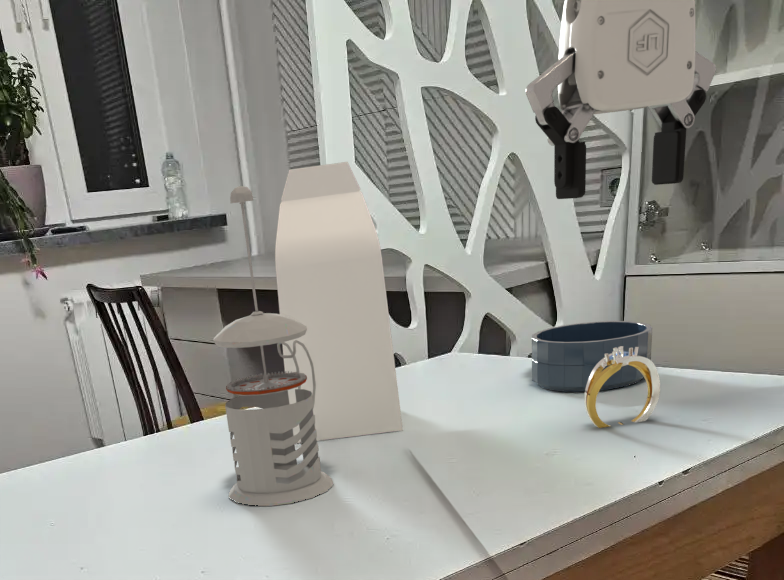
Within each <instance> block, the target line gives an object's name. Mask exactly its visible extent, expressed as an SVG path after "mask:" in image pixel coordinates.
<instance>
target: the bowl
mask: <svg viewBox="0 0 784 580" xmlns="http://www.w3.org/2000/svg"><path fill="white" fill-rule="evenodd" d="M652 342H653V326H652V325H651V324H648V323H645V322H640V321H632V320H631V321H627V320H604V321H601V320H600V321H589V322H579V323H571V324H564V325H559V326H554V327H549V328H545V329H543V330H538V331H536V332H535V333H533V334H532V335H531V381H532V382H534V383H535V384H537V386H538V387H540V388H541V389H545V390H550V391H554V392H565V393H567V392H569V393H570V392H571V393H575V392H577V393H578V392H579V393H580V392H581V393H583V392H584V393H585V389H586V385H587V382H588V379H589V376H590V374H591V372H592V370H593V369H594V367H595V366H596V365H597V363H598V362H599V361H600V360H602V359H603V358H604V357H605V355H604V354H607V353H608V355H609V354H611V353H612V352H613V348H615V347H617V348H618V347H620V346H623V352H629V348H633V352H634V349H635V347H638V353H637V355H639V356H642V357H645V358H648V359H650V360H651V361H652V344H653V343H652ZM613 364H614V363H613ZM611 365H612V364H611ZM609 366H610V365H609ZM609 366H607V365H606V366H605V368H604V369H606V368H607V367H609ZM604 369H603V370H604ZM603 370H602V371H603ZM643 377H644V376H643V375H642V373H641V372H640V371H639V370H638V369H636V368H635V367H633V366H631V365H625V366H622V367H621V369H620V370H618V371H617V372H615V373H614V374H613V375H612V376H610V377H609V378H608V379H607V380H606V381H605V383H604V384H603V385H602V387H601V388H600V390H599V391H607V390H614V389H613V388H615V389H619V387H620V388H624V387H627V386H626V385H628V386H630V385H629V384H632V385H634V384H633V383H635V382H637V383H639V382H641V381H642V380H643V379H644V378H643ZM641 379H642V380H641ZM640 380H641V381H640ZM638 381H639V382H638ZM635 384H636V383H635ZM623 386H624V387H623Z"/></svg>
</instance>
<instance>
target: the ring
mask: <svg viewBox="0 0 784 580" xmlns="http://www.w3.org/2000/svg"><path fill="white" fill-rule="evenodd" d="M637 353H638V347H635V349H634V352H633V348H629V352H623V346H620V347H618V348H617V347H615V348H613V352H612V353H611V354H609V355H608V353H607V354H604V355H605V357H604V358H603V359H602V360H600V361H599V362H598V363H597V365H596V366H595V367H594V369H593V370H592V372H591V374H590V376H589V379H588V382H587V385H586V389H585V392H584V395H583V396H584V397H583V403H584V409H585V412H586V414H587V417H588V418H589V420H590V421H591V422H592V424H593V425H594V426H596V427H597V428H598V429H602V428H608V427H609V428H610V427H611V425H610V424H608V423H606V422H604V421H603V420H602V419H601V418H600V416H599V414H598V411H597V397H598V395H599V392H600V391H601V390H600V388H601V387H602V385H603V384H604V383H605V381H606V380H607V379H608V378H609V377H610V376H612V375H613V374H614V373H615V372H617V371H618V370H620V369H621V367H622V366H625V365H631V366H633V367H635V368H636V369H638V370H639V371H640V372H641V373H642V375H643V376H644V378H643V379H645V382H646V386H647V394H646V401H645V403H644V406H643V407H642V410H640V412H639V413H638V414H637V415H636V417H634V418H633V419H631V420H630V422H632V423H639V422H641V423H642V422H646V421H647V420H648V419H649V418H650V417H651V415H652V414H653V412H654V410H655V409H656V407H657V405H658V402H659V398H660V393H661V379H660V374H659V372H658V369H657V366H656V365H655V363H654V362H653V361H652V359H651V360H650V359H648V358H645V357H642V356H639V355H637ZM613 363H614V364H613ZM611 364H612V365H611ZM606 365H607V366H609V365H610V366H609V367H607V368H606V369H604V368H605V366H606ZM603 369H604V370H603ZM602 370H603V371H602ZM617 424H619V425H621V426H622V425H624V423H623V422H622V421H619V422H617Z"/></svg>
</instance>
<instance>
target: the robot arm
mask: <svg viewBox="0 0 784 580" xmlns="http://www.w3.org/2000/svg"><path fill="white" fill-rule="evenodd" d="M560 24H561V25H560V35H559V48H558V60H557V61H555V63H553V64H552V65H551V66H550V67H548V68H547V69H546V70H544V71H543V72H542V73H541V74H540V75H538V76H537V77H536V78H534V80H532V81H531V82H530V83H528V84H527V85H526V88H525V95H526V98H527V100H528V103H529V105H530V107H531V110H532V112H533V113H534V114H535V118H534V119H535V124H536V125H537V126H538V127H539V129H540V130H541V131H542V132H543V133H544V134H545V136H547V143H548V144H549V145H550V146H552V147H554V148H553V149H554V150H553V151H554V155H553V156H554V157H553V158H554V164H553V167H554V171H553V173H554V174H553V177H554V178H553V182H554V183H553V184H554V187H555V197H556V199H557V200H568V199H569V200H570V199H571V200H572V199H581V198H583V197H584V195H585V194H586V183H587V182H586V181H587V178H586V177H587V175H586V174H587V144H586V141H580V138H581V136H582V135H583V133H584V131H585V130H586V128H587V126H588V125H589V123H590V121H591V119H592V118H593V116H594V115H600V114H609V113H618V112H625V111H634V110H640V109H645V108H648V110H649V111H650V113H651V115H652V116H653V119H654V120H655V121H656V123H657V125H658V126H659V128H660V131H658V132H657V131H656V132H654V136H653V144H652V164H651V183H652V184H653V185H655V186H659V185H670V184H673V185H674V184H681V183H682V182H683V180H684V174H685V173H684V172H685V159H686V143H687V129H691V127H692V126H693V125H694V124H695V117H696V116H697V113H698V112H699V111H700V109H701V108H702V106H703V105H704V104H705V102H706V99H707V92H708V91H709V90H710V87H711V84H712V81H713V79H714V77H715V74H716V71H717V66H716V64H715V63H714V62H713V61H711V60H710V59H708V58H707V57H706V56H705V55H702V54H701V53H699V52H698V51H696V1H695V0H564V2H563V9H562V16H561V23H560ZM556 88H557V91H558V92H557V94H558V95H557V97H558V105H559V107H558V106H556V105H555V103H554V102H555V100H554V97H553V92H554V90H555V89H556ZM559 108H560V109H559Z"/></svg>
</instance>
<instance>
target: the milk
mask: <svg viewBox="0 0 784 580" xmlns="http://www.w3.org/2000/svg"><path fill="white" fill-rule="evenodd" d="M274 247H275V251H274V257H275V258H274V260H275V261H274V263H275V274H276V275H275V276H276V287H277V297H278V300H277V301H278V311H279V314H280V315H283V316H287V317H291V318H293V319H294V320H296V321H298V322H300V323H301V324H303V325H305V326H306V327H307V331H306V333H305V335H303V336H301V337H299V338H296V339H293V340H289V341H286V342H285V343H287V344H288V345H289V346H290V348H291V350H292V351H293V342H294V341H295V340H298V341H299V342H301V343H303V344H304V345H305V347H306V348H307V350H308V352H309V355H310V357H311V360H312V362H313V366H314V374H315V381H316V391H315V404H314V408H313V415H315V429H316V431H317V438H316V441H317V442H320V441H327V440H334V439H343V438H351V437H359V436H367V435H368V436H369V435H377V434H384V433H392V432H402V431H404V427H403V421H402V420H403V419H402V412H401V405H400V395H399V385H398V379H397V370H396V363H395V362H396V361H395V355H394V347H393V346H394V345H393V338H392V331H391V329H392V328H391V322H390V312H389V306H388V297H387V289H386V281H385V272H384V265H383V256H382V248H381V245H380V239H379V235H378V233H377V229H376V226H375V224H374V221H373V218H372V215H371V213H370V210H369V208H368V205H367V202H366V200H365V197H364V194H363V192H362V191H361V187H360V185H359V183H358V181H357V178H356V176H355V174H354V172H353V170H352V168H351V166H350V164H349V161H342V162H335V163H327V164H319V165H312V166H306V167H298V168H292V169H290V168H289V170H288V172H287V175H286V179H285V184H284V187H283V191H282V194H281V198H280V203H279V209H278V219H277V228H276V237H275V246H274ZM281 345H282V355H291V353H290V351H289V350H288V348H287V347H286V346H285V345H283V344H281ZM295 357H296V360H297V363H298V367H299V372H300V373H304V374H305V375H306V376H307V380H306V382H305V383H303V384H302V385H301V389H305V390H308V391H311V392H312V395H313V380H312V369H311V365H310V361H309V359H308V356H307V354H306V352H305V350H304V348H303V347H302V346H301V345H299V344H298V343H296V354H295ZM283 366H284V372H285V371H286V372H287V373H288V371H289V373H290V372H291V371H292V372H296V366H295V363H294V360H293V357H292V358H283ZM295 389H298V387H297V388H293V389H290V390H288V396H289V404H294V403H296V395H295ZM299 431H300V428H299V425H298V426H296V427H294V428H293V436H294V435H296V434H298V433H299ZM296 444H301V439H300V440H299V441H298V442H297V443H296Z"/></svg>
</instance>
